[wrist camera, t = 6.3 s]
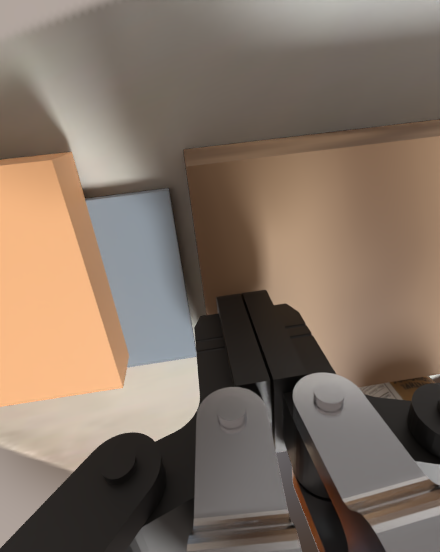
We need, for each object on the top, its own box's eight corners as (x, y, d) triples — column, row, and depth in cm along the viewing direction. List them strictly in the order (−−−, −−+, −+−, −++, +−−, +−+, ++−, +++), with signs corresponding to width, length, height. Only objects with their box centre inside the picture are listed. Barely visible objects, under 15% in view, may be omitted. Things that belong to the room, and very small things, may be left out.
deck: (492, 113, 13) (615, 114, 9) (443, 308, 17) (513, 361, 13) (183, 149, 12) (186, 166, 8) (210, 344, 16) (220, 410, 13)
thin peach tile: (-171, 184, 9) (-114, 171, 11) (-28, 410, 13) (-4, 375, 15) (52, 160, 9) (71, 152, 11) (122, 387, 14) (129, 355, 15)
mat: (168, 187, 13) (168, 190, 12) (196, 351, 16) (196, 356, 16) (-36, 213, 12) (-42, 216, 12) (41, 375, 16) (37, 381, 15)
